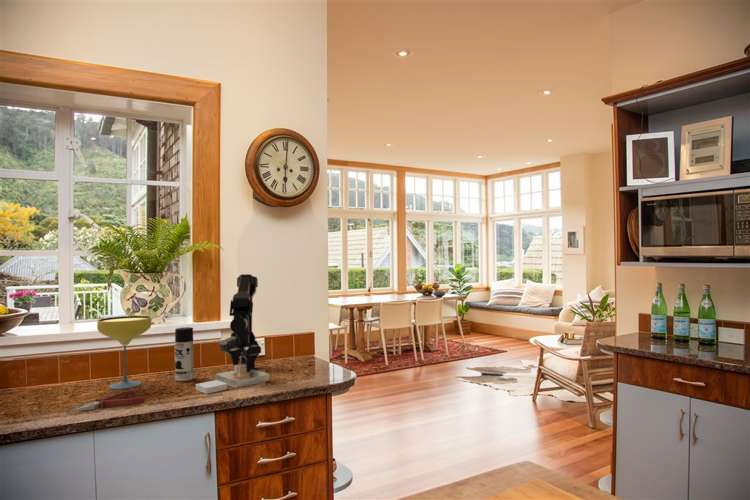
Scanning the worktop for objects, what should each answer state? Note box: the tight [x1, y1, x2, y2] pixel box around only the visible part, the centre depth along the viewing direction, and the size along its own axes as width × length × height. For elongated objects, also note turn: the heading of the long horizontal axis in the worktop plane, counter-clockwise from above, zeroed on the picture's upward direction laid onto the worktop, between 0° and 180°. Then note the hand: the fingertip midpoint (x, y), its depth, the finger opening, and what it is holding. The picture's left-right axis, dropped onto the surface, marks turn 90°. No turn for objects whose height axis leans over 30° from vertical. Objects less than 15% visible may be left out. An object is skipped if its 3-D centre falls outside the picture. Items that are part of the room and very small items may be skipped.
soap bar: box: [195, 379, 228, 395], centre depth 172 cm, size 8×8×2 cm
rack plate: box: [214, 369, 270, 389], centre depth 185 cm, size 16×14×3 cm
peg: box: [233, 363, 249, 377], centre depth 185 cm, size 4×4×6 cm
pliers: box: [69, 390, 146, 412], centre depth 155 cm, size 11×20×3 cm, turn 134°
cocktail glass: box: [96, 315, 152, 390], centre depth 180 cm, size 18×18×25 cm
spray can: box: [174, 326, 194, 382], centre depth 188 cm, size 7×7×20 cm
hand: (241, 370), depth 185 cm, fingers open, 9 cm apart
